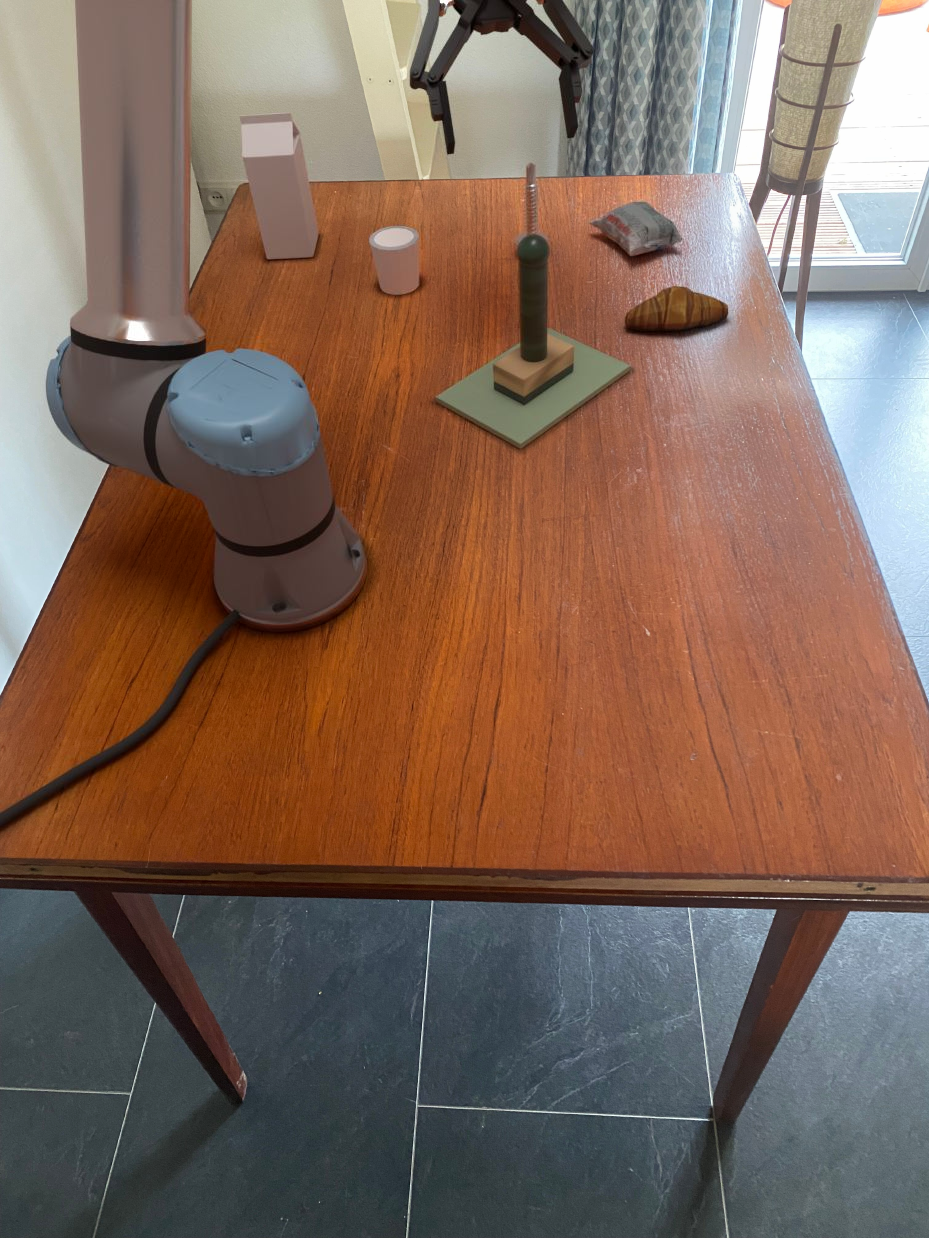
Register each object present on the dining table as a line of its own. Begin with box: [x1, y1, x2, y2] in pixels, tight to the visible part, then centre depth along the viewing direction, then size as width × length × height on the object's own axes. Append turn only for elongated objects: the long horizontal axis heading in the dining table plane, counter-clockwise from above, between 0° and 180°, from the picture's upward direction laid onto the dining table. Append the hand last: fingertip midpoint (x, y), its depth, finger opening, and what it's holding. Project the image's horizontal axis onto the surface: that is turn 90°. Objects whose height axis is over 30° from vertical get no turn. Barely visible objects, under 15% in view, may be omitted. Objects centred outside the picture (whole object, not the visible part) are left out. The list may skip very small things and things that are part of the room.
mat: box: [435, 326, 631, 450], centre depth 111 cm, size 20×14×1 cm
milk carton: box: [239, 111, 320, 260], centre depth 131 cm, size 7×7×19 cm
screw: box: [514, 162, 549, 248], centre depth 127 cm, size 13×5×5 cm
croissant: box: [624, 285, 729, 332], centre depth 116 cm, size 14×7×5 cm, turn 95°
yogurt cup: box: [368, 225, 420, 296], centre depth 126 cm, size 7×7×7 cm
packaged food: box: [589, 201, 683, 257], centre depth 130 cm, size 9×12×5 cm
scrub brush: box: [493, 234, 574, 405], centre depth 104 cm, size 9×5×18 cm, turn 135°
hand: (512, 141), depth 99 cm, fingers open, 13 cm apart
